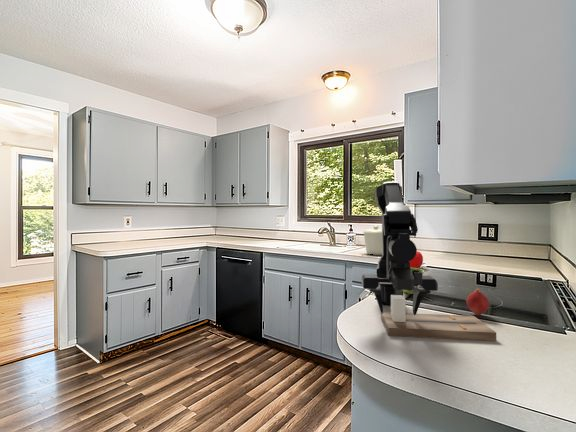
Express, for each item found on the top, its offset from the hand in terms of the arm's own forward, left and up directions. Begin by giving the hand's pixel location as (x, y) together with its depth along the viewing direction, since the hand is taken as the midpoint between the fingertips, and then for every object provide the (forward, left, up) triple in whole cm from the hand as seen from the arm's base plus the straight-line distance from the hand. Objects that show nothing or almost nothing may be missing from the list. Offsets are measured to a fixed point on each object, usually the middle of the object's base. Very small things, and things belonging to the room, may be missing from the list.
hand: (397, 314), depth 83 cm
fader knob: (0, 0, -1) cm, 1 cm away
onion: (-13, +25, -4) cm, 29 cm away
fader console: (0, +9, -4) cm, 10 cm away
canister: (-143, +13, -4) cm, 144 cm away
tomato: (-90, +26, -4) cm, 93 cm away
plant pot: (-38, +12, -4) cm, 40 cm away
